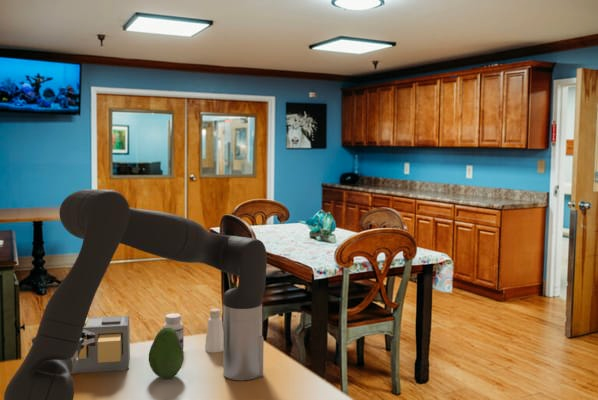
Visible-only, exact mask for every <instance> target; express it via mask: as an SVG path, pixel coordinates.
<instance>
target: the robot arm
mask: <svg viewBox="0 0 598 400" xmlns="http://www.w3.org/2000/svg"><path fill="white" fill-rule="evenodd" d="M59 219H60V223H61V224H62V227H63V228H64V229H65V230H66V231H67V232H68V233H69V234H70V235H72V236H74V237H75V238H78V239H81V240H82V244H81V247H80V251H79V253H78V256H77V258H76V259H75V261H74V263H73V265H72V267H71V269H70V270H69V271H68V272H67V274H66V276H65V277H64V278H63V280H62V281H61V282H60V283H59V285H58V286H57V288H56V289H55V290H54V292H53V293H52V295H51V296H50V298H49V300H48V302H47V304H46V306H45V308H44V310H43V313H42V316H41V320H40V322H39V325H38V329H37V332H36V334H35V337H32V338H31V347H30V349H29V351H28V353H27V355H26V356H25V357H24V360H23V361H22V363H21V365H20V366H19V368H18V369H17V370H16V372H15V373H14V375H13V376H12V378H11V379H10V380H9V382H8V384H7V385H6V387H5V390H4V395H3V400H74V399H75V398H74V397H75V382H74V379H73V376H72V374H73V373H72V371H73V370H74V367H75V365H76V364H77V361H78V357H79V354H80V350H81V349H83V348H84V346H85V345H86V346H87V345H89V346H95V333H92V332H90V331H87V330H84V329H83V328H84V325H85V322H86V318H88V315H89V313H90V309H91V306H92V303H93V301H94V298H95V296H96V294H97V292H98V289H99V286H100V285H101V282H102V281H103V278H104V276H105V275H106V272H107V270H108V268H109V266H110V263H111V262H112V259H113V257H114V256H115V254H116V251H117V249H118V248H119V246H120V244H121V245H124V246H127V247H130V248H132V249H136V250H138V251H141V252H144V253H147V254H149V255H154V256H155V257H156V256H157V257H160V258H164V259H167V260H171V261H174V262H175V261H176V262H181V263H187V264H188V263H189V264H190V263H192V264H193V263H195V264H196V263H197V264H199V263H200V264H203V265H206V266H209V267H212V268H215V269H217V270H219V271H221V272H223V273H226V274H229V275H233V276H238V284H237V287H234V288H230V289H228V290H226V291H225V292H224V294H223V309H222V310H223V312H222V313H223V315H222V317H223V319H222V324H223V351H222V355H223V357H222V359H223V361H222V363H223V364H222V368H223V373H222V374H223V376H224V377H226V378H227V379H230V380H234V381H249V380H254V379H256V378H260V377H263V376H264V336H263V297H264V295H265V290H266V280H267V279H266V278H267V268H268V267H267V266H268V263H267V262H268V256H267V250H266V249H267V247H266V246H265V244H264V242H263V241H261V240H260V239H257V238H254V237H247V236H246V237H244V236H237V235H227V234H226V235H224V234H219V233H214V232H210V231H208V229H206V228H205V227H204V226H203V225H201V224H200V223H198V222H196V221H195V220H193V219H189V218H186V217H183V216H181V215H178V214H173V213H168V212H164V211H157V210H149V209H142V208H141V209H140V208H134V207H130V204H129V202H128V200H127V199H126V197H125V196H124V195H123V194H122V193H121V192H118V191H117V190H114V189H112V190H111V189H94V188H93V189H92V188H90V189H88V188H87V189H81V190H77V191H75V192H72V193H71V194H69V195H68V196H67V197H66V198H64V199H63V201H62V202H61V205H60V207H59Z"/></svg>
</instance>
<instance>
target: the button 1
mask: <svg viewBox="0 0 598 400" xmlns="http://www.w3.org/2000/svg"><path fill="white" fill-rule="evenodd" d="M87 354H88V345H87V346H86V345H85V346H84V348H83V349H81V350H80V354H79V357H78V359H83V358H86V357H87Z"/></svg>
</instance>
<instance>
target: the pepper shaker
mask: <svg viewBox="0 0 598 400" xmlns="http://www.w3.org/2000/svg"><path fill="white" fill-rule="evenodd" d="M204 345H205V346H204V350H205V351H206V352H208V353H212V354H214V353H215V354H216V353H221V352H222V353H223V319H222V318H221V309H220V308H215V307H214V308H211V309H209V318H208V319H207V327H206V336H205V344H204Z"/></svg>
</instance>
